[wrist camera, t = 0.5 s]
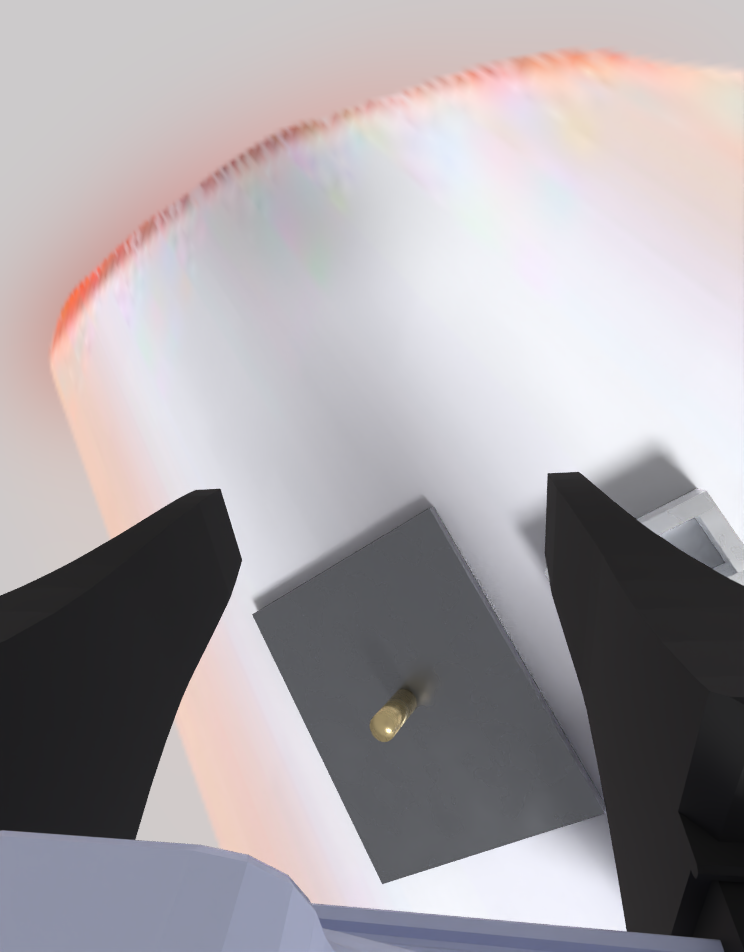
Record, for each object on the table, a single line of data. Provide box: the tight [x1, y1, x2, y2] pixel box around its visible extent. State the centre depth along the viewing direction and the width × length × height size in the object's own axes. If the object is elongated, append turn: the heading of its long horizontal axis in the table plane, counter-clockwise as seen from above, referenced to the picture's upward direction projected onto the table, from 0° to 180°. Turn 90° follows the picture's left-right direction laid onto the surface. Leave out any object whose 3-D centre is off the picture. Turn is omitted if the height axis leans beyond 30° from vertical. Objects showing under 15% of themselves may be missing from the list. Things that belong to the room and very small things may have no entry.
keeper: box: [252, 507, 605, 884], centre depth 34 cm, size 20×16×5 cm
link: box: [544, 488, 744, 586], centre depth 29 cm, size 9×5×3 cm, turn 121°
